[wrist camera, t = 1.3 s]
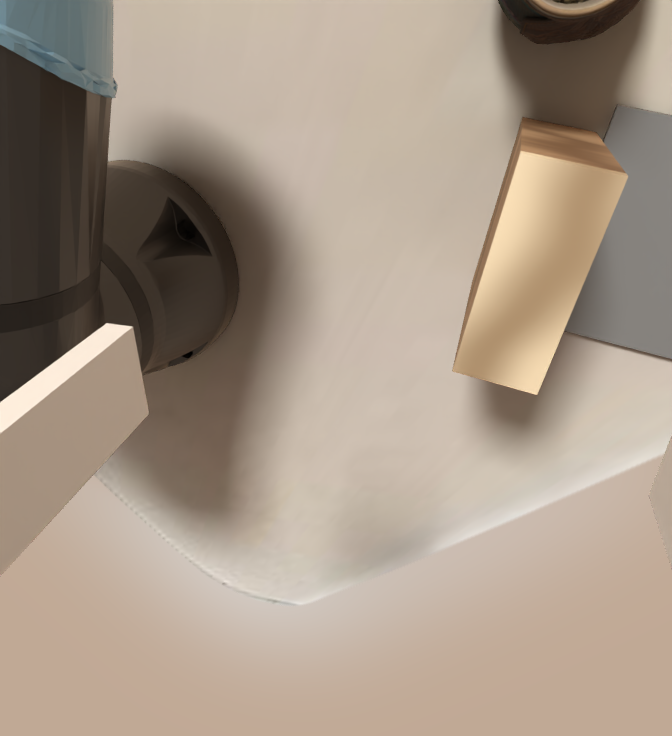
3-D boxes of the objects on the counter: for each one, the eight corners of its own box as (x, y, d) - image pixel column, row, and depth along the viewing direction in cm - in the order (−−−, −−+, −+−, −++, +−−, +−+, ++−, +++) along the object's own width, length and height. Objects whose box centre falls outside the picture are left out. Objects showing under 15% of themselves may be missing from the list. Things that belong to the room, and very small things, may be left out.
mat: (534, 320, 37) (534, 323, 37) (617, 104, 30) (618, 105, 30) (712, 367, 36) (714, 370, 35) (843, 149, 29) (847, 150, 28)
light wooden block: (472, 281, 37) (452, 371, 27) (522, 116, 32) (520, 153, 22) (534, 297, 37) (537, 395, 27) (596, 132, 31) (628, 176, 21)
